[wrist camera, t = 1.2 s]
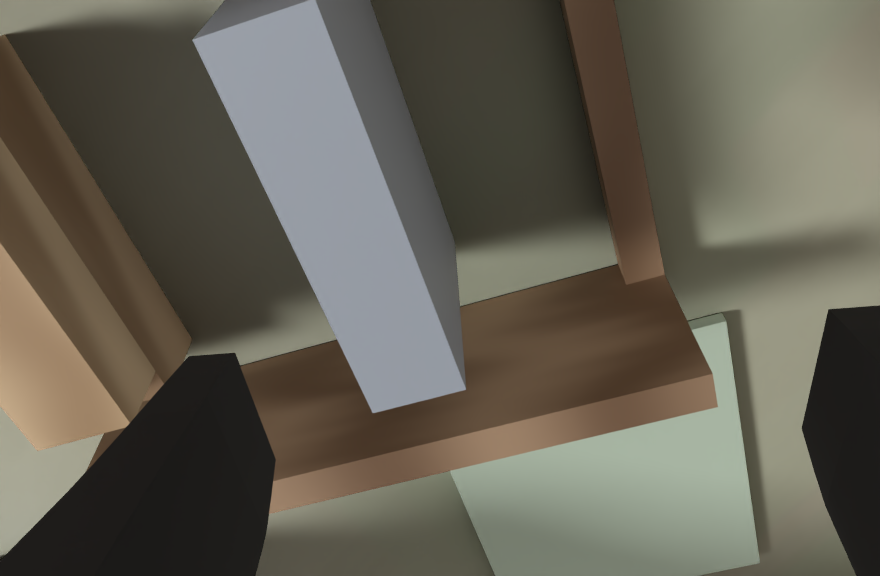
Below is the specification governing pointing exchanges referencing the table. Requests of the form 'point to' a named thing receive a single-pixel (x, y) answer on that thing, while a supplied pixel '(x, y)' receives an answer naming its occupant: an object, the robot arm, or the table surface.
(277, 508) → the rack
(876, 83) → the table surface
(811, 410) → the robot arm
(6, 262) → the offcut
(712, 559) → the mat
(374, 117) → the grey rectangular box
